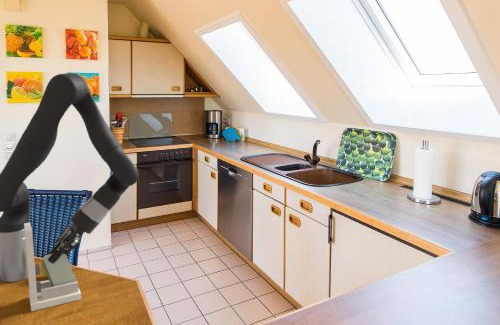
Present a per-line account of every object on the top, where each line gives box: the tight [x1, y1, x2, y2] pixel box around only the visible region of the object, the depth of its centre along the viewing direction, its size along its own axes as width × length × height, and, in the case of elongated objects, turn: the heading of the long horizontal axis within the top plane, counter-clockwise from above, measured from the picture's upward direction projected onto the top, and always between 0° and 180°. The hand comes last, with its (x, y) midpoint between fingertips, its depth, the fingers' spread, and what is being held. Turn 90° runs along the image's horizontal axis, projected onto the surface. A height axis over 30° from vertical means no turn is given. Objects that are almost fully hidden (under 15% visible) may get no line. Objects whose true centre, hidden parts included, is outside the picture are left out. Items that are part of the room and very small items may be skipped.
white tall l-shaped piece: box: [24, 222, 82, 312], centre depth 119 cm, size 14×9×24 cm, turn 122°
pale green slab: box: [41, 253, 77, 286], centre depth 120 cm, size 7×3×11 cm, turn 122°
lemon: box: [40, 262, 48, 278], centre depth 133 cm, size 6×6×8 cm
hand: (50, 259), depth 118 cm, fingers closed on pale green slab, 2 cm apart
